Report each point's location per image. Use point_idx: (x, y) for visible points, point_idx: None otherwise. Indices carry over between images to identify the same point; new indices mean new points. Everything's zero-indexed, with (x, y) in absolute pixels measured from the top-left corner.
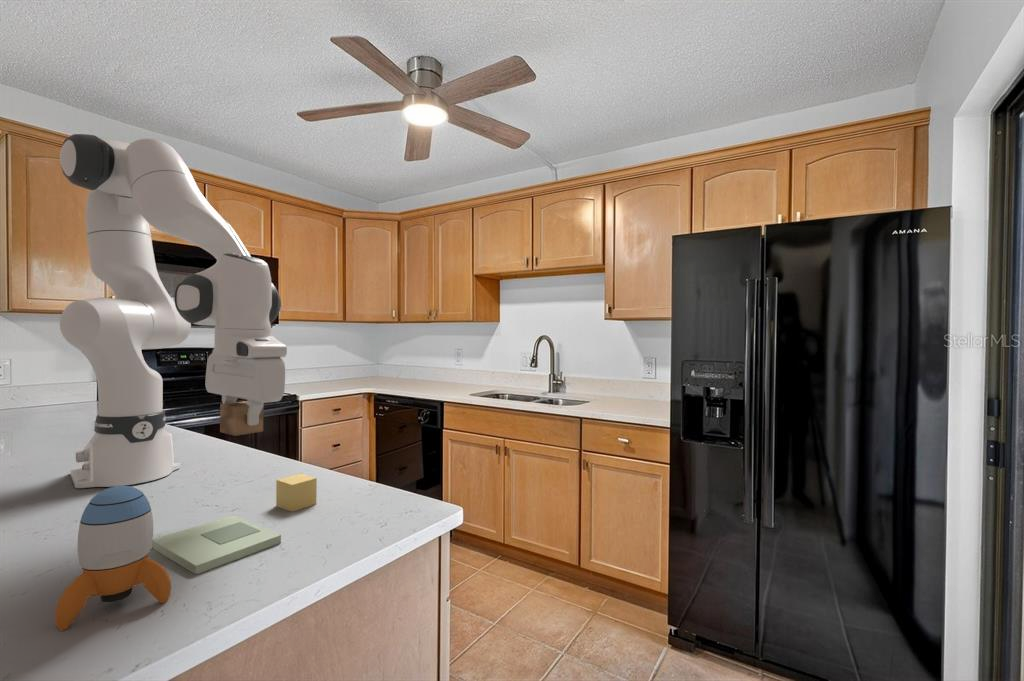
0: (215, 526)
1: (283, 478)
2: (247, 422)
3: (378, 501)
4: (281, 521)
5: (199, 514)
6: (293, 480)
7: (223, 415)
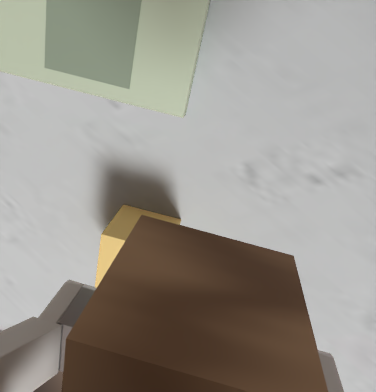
0: (158, 44)
1: None
2: (79, 290)
3: (25, 292)
4: (97, 156)
5: (308, 121)
6: None
7: (263, 317)
